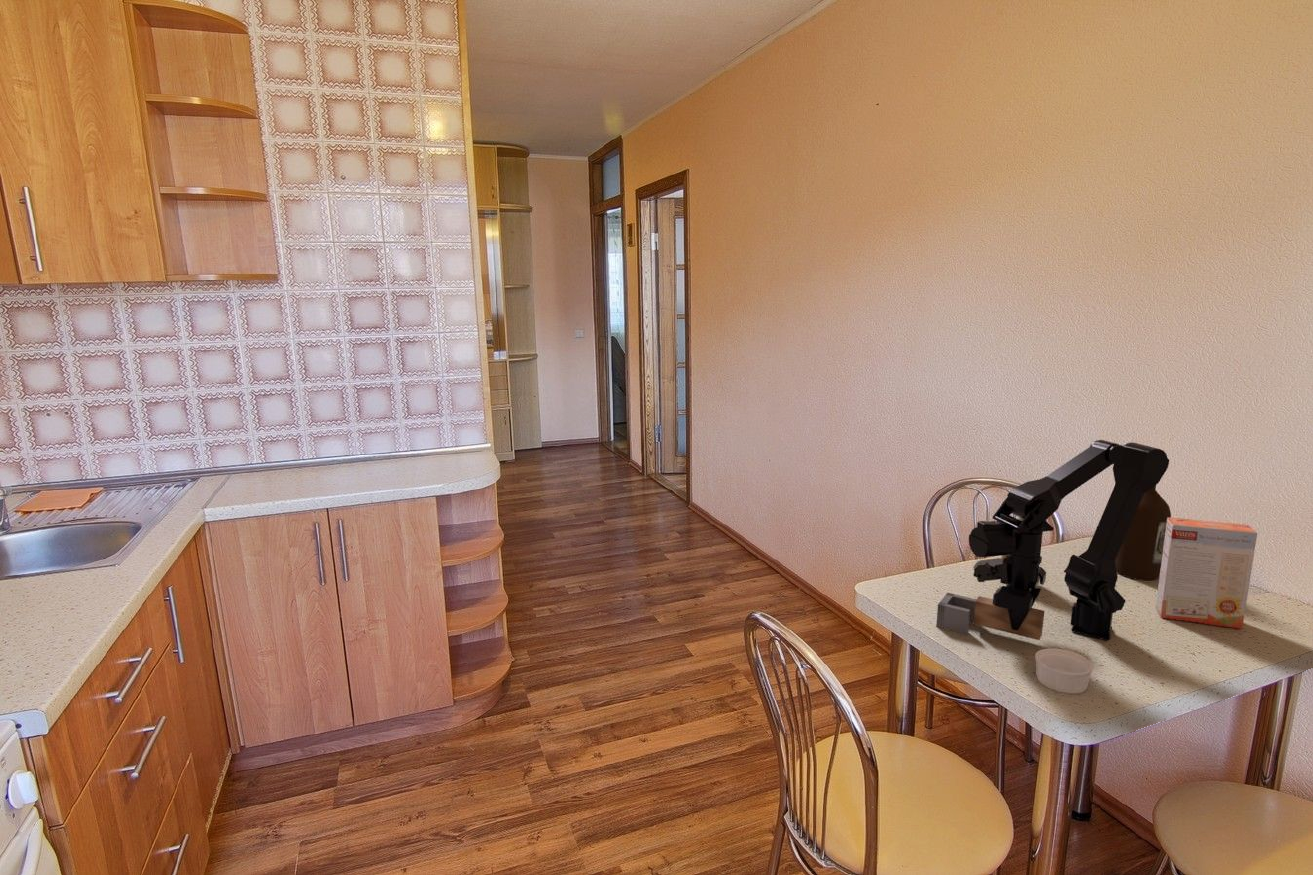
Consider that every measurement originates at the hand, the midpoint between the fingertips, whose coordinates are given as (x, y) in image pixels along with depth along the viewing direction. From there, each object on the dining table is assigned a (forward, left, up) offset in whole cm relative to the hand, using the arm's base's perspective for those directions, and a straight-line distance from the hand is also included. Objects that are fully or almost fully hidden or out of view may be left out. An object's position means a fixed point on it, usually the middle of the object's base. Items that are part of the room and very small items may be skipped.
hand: (1016, 626), depth 140 cm
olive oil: (-17, -53, -3) cm, 56 cm away
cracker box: (-29, -32, -3) cm, 43 cm away
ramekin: (-10, +12, -3) cm, 16 cm away
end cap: (+11, 0, -3) cm, 12 cm away
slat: (+2, 0, -1) cm, 2 cm away
